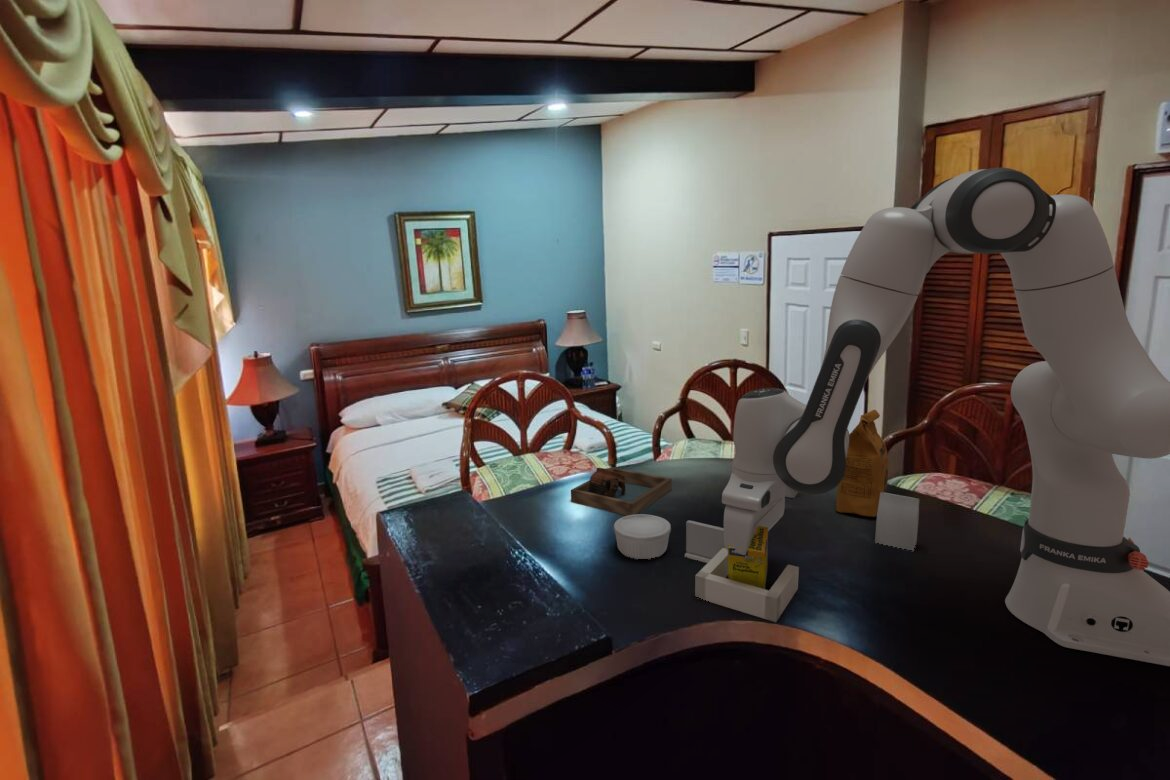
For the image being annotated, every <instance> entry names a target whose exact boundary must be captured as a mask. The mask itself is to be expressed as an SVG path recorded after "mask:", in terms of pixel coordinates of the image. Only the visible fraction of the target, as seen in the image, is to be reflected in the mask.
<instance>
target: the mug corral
mask: <svg viewBox="0 0 1170 780" xmlns="http://www.w3.org/2000/svg"><path fill="white" fill-rule="evenodd" d="M608 470H611V471H614V472H617V473H619V474H621V475H623V476H625V479H624V482H625V484H626V483H627V484H630V485H631V484H632V485H636V486H642V487H646V488H651V489H649V490H647V491H646V492H644V493H643V494H641V495H639V496H638V497H636V498H635V499H633V500H631V501H629V500H624V499H619V498H617V497H615V498H612V497H607V496H603V495H599V494H594V493H590V492H586V490H587V489H589V483H590V479H589V480H587V481H584V482H583V483H581V484H579V485H577V486H576V487H574V488H572V489H570V502H571V503H575V504H578V505H582V506H586V507H591V508H595V509H599V510H603V511H607V512H612V513H615V514H620V515H624V516H629V515H636V514H639V513H641V512H642V511H643V510H645V509H646V508H648V507H650V506H651V505H652V504H654V503H655V502H657V501H658V500H659V499H661V498H663V497H664V496H665V495H667V494H668V493H670V492H671V491H672V485H673V484H672V478H669V477H664V476H659V475H653V474H649V473H644V472H640V471H639V472H638V471H633V470H628V469H622V468H619V467H618V468H617V467H611V468H609V469H608ZM603 485H606V482H604V481H603Z"/></svg>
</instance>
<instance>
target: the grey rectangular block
mask: <svg viewBox="0 0 1170 780" xmlns="http://www.w3.org/2000/svg"><path fill="white" fill-rule="evenodd" d="M919 517H920V498H916V497H911V496H906V495H902V494H901V495H900V494H893V493H889V492H886V493H884V492H881V493H880V498H879V505H878V512H877V515H876V523H875V535H874V544H877V543H879V544H878V545H881V544H883V546H886V545H888V546H887V547H890V546H893V547H892V548H895V547H897V548H896V549H899V548H902V549H901V550H904V549H907V550H906V551H908V550H912V551H911V552H914V551H915V549H916V546H917V543H918V542H917V541H918V530H919V529H918V528H919ZM915 545H916V546H915ZM914 548H915V549H914Z"/></svg>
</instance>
